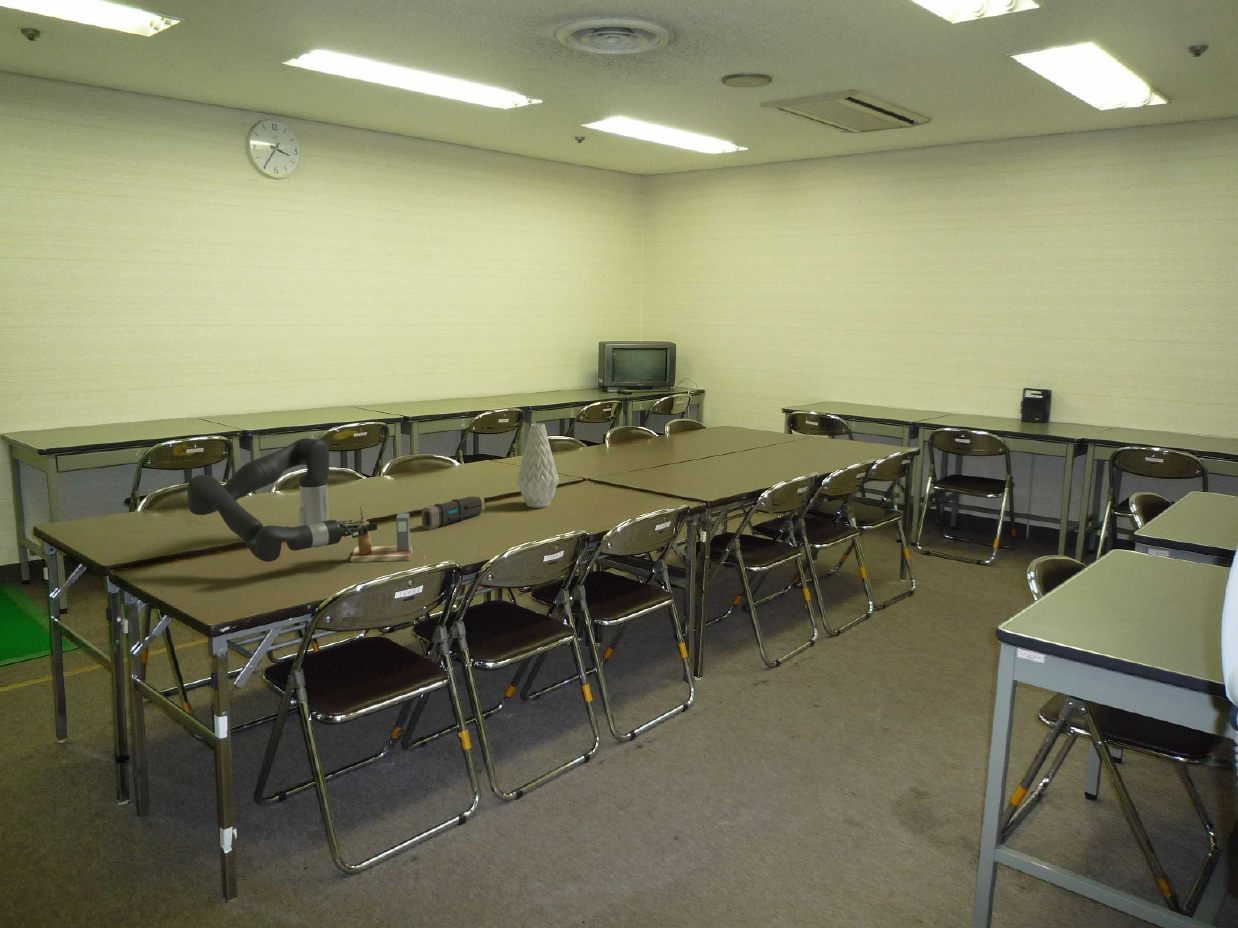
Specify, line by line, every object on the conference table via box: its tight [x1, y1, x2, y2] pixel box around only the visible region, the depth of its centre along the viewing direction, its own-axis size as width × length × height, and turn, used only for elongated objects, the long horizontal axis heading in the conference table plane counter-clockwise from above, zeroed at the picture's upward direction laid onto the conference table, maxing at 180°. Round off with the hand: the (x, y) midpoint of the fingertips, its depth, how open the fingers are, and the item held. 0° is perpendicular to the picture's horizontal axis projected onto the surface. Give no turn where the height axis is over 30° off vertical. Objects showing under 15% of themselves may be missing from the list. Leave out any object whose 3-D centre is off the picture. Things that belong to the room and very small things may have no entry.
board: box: [350, 544, 414, 563], centre depth 286 cm, size 18×12×2 cm, turn 99°
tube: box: [421, 496, 486, 531], centre depth 331 cm, size 11×7×30 cm
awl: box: [357, 506, 372, 555], centre depth 282 cm, size 4×4×15 cm
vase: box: [516, 423, 560, 509], centre depth 355 cm, size 17×17×33 cm
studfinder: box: [395, 512, 411, 551], centre depth 288 cm, size 4×6×11 cm, turn 9°
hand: (372, 524), depth 283 cm, fingers open, 4 cm apart
